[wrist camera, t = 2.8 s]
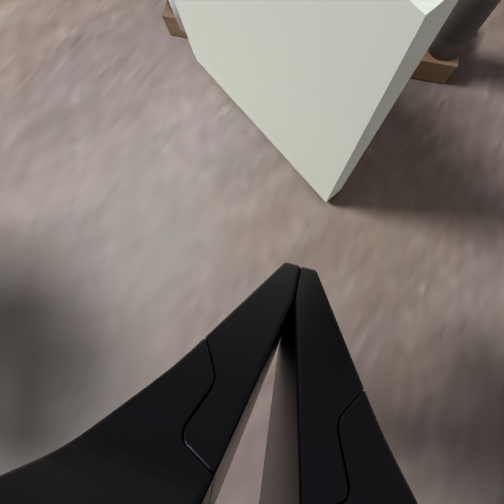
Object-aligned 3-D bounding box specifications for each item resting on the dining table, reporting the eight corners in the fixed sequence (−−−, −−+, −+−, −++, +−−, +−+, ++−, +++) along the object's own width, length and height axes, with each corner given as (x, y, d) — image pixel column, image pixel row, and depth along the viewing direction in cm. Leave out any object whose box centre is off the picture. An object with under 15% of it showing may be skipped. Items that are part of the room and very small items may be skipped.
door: (324, 203, 19) (422, 19, 6) (184, 48, 21) (27, -337, 8) (355, 177, 19) (521, -64, 6) (212, 25, 21) (98, -397, 8)
